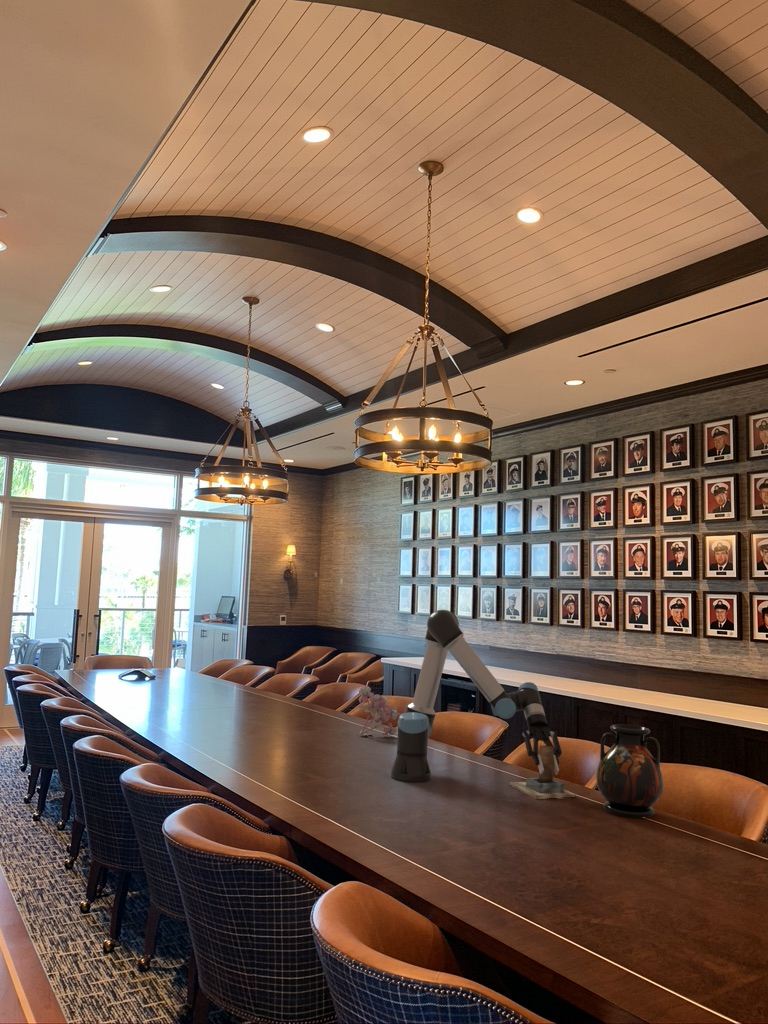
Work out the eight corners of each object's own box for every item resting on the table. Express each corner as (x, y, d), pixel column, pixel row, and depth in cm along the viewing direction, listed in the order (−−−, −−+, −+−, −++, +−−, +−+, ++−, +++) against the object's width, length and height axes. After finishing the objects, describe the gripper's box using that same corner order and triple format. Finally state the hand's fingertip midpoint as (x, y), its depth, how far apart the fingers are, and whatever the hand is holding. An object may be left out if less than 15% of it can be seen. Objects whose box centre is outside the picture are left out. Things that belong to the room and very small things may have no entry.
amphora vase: (591, 815, 253) (593, 727, 257) (599, 801, 273) (600, 720, 277) (661, 825, 245) (662, 734, 249) (664, 810, 265) (664, 726, 269)
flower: (378, 739, 366) (397, 690, 376) (340, 728, 378) (359, 681, 389) (396, 753, 380) (414, 705, 391) (359, 742, 393) (377, 696, 403)
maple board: (535, 798, 271) (536, 786, 272) (509, 785, 290) (509, 774, 291) (575, 798, 276) (576, 785, 277) (547, 784, 295) (547, 773, 296)
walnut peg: (543, 782, 279) (543, 748, 280) (536, 779, 284) (537, 745, 285) (555, 782, 280) (556, 748, 282) (548, 779, 285) (549, 745, 286)
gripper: (555, 725, 300) (570, 778, 282) (510, 724, 298) (523, 777, 280) (561, 713, 296) (576, 766, 277) (515, 711, 293) (528, 765, 275)
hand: (549, 772), depth 279 cm, fingers closed on walnut peg, 5 cm apart
